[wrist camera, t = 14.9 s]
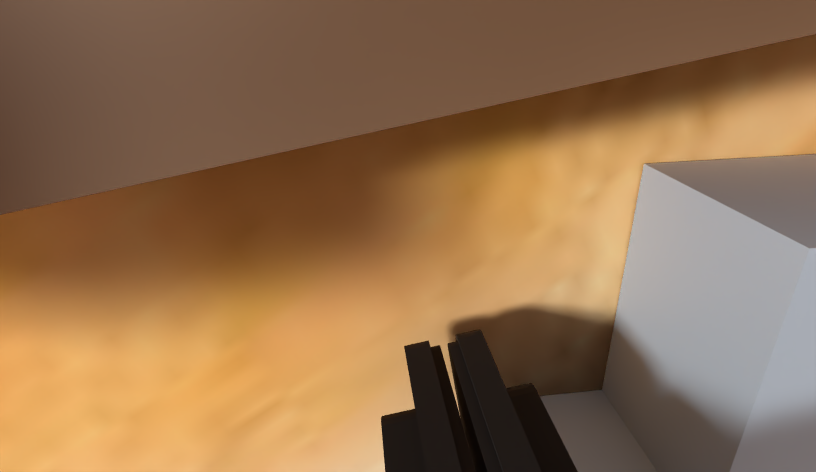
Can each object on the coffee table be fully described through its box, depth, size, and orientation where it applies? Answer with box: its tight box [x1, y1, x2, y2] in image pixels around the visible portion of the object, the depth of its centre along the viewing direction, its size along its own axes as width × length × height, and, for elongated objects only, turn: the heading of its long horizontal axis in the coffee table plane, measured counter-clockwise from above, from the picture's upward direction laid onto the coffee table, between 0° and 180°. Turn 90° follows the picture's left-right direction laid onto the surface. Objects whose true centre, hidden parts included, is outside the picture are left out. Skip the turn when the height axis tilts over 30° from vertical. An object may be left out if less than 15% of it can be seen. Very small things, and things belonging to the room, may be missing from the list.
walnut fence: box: [0, 0, 816, 215], centre depth 10 cm, size 18×20×4 cm
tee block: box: [540, 154, 816, 472], centre depth 11 cm, size 10×10×4 cm
